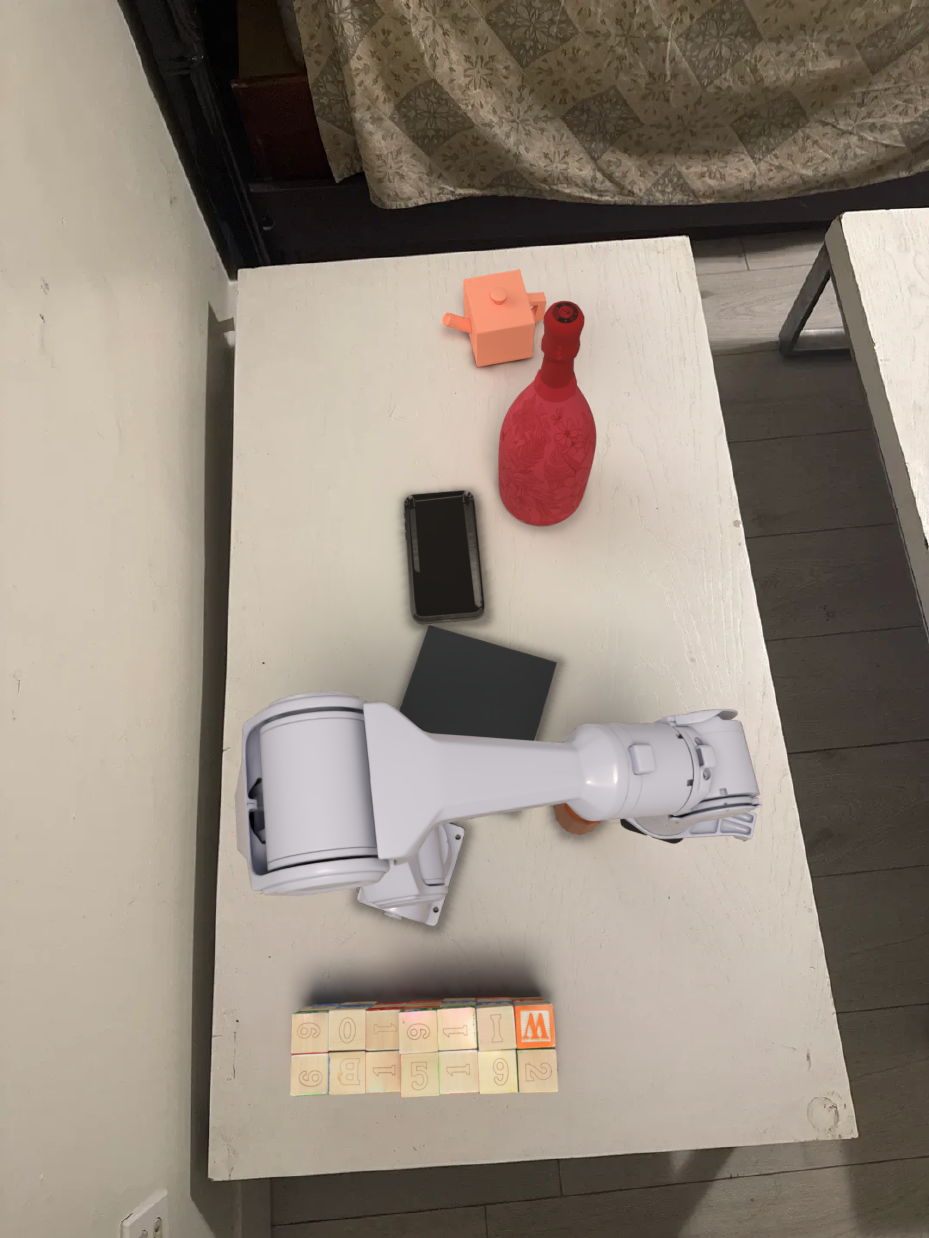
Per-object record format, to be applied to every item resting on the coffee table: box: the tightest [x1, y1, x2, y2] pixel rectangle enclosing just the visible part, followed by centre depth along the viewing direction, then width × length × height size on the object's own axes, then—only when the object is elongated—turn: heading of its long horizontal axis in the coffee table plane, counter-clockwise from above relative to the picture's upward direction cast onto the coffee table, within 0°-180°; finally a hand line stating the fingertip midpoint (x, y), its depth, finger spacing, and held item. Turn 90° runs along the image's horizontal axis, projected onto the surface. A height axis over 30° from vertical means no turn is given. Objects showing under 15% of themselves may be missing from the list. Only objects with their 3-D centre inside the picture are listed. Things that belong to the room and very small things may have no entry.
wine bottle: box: [497, 300, 597, 527], centre depth 84 cm, size 10×10×30 cm
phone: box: [403, 489, 485, 625], centre depth 95 cm, size 8×1×15 cm
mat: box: [399, 624, 557, 741], centre depth 89 cm, size 16×14×1 cm
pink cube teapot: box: [441, 268, 547, 368], centre depth 101 cm, size 8×12×8 cm, turn 101°
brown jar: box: [553, 803, 604, 836], centre depth 81 cm, size 5×5×11 cm
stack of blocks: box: [289, 996, 559, 1099], centre depth 73 cm, size 21×6×12 cm, turn 92°
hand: (642, 814), depth 77 cm, fingers closed
